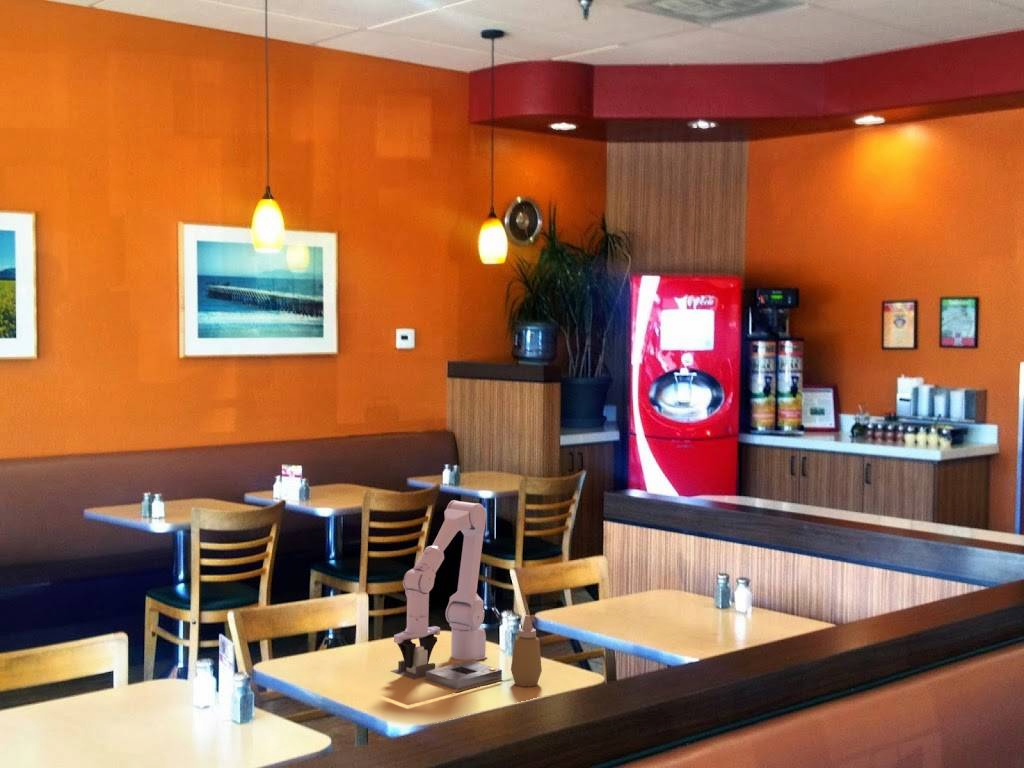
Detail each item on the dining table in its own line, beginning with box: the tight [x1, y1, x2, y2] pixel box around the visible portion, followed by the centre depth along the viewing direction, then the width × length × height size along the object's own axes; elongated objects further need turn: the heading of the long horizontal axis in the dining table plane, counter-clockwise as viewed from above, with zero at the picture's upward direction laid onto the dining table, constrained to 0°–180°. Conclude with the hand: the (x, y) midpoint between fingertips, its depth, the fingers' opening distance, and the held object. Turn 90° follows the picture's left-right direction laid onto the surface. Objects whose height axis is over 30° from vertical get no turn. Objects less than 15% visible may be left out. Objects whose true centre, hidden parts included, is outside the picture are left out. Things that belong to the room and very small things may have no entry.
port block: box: [425, 659, 503, 694], centre depth 330 cm, size 16×12×3 cm
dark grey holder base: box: [390, 659, 436, 680], centre depth 336 cm, size 10×10×3 cm
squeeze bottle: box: [510, 615, 543, 687], centre depth 329 cm, size 8×8×18 cm
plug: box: [406, 644, 428, 674], centre depth 336 cm, size 3×5×7 cm, turn 45°
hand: (416, 665), depth 336 cm, fingers open, 5 cm apart
